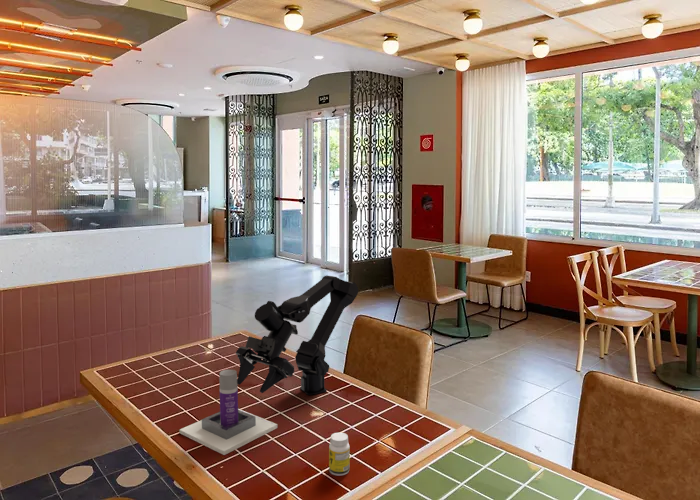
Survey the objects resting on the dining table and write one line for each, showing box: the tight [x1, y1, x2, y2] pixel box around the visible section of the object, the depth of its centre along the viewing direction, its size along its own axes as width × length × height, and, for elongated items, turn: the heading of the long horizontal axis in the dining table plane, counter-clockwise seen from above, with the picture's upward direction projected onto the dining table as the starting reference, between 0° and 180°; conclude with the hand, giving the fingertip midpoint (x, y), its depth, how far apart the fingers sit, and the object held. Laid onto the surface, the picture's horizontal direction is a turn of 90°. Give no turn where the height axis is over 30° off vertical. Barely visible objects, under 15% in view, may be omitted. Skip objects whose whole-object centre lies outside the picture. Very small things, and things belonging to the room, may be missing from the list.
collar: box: [201, 409, 256, 440], centre depth 142 cm, size 10×10×2 cm
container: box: [218, 369, 239, 427], centre depth 142 cm, size 5×5×15 cm
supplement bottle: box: [328, 432, 351, 477], centre depth 123 cm, size 5×5×8 cm
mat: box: [179, 408, 278, 456], centre depth 142 cm, size 18×18×1 cm
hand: (249, 388), depth 147 cm, fingers open, 9 cm apart
